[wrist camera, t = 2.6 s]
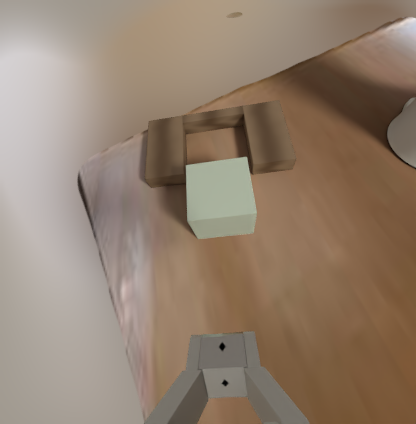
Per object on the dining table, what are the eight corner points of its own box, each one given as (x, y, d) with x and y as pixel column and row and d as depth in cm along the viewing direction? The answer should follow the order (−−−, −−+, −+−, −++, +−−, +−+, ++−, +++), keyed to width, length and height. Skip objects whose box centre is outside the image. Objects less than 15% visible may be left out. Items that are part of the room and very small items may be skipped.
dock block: (276, 113, 44) (279, 100, 41) (292, 169, 38) (296, 158, 36) (154, 132, 47) (148, 121, 44) (151, 187, 41) (144, 179, 38)
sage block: (245, 185, 38) (246, 156, 31) (253, 233, 35) (256, 213, 27) (195, 191, 39) (185, 165, 32) (198, 239, 35) (187, 221, 28)
